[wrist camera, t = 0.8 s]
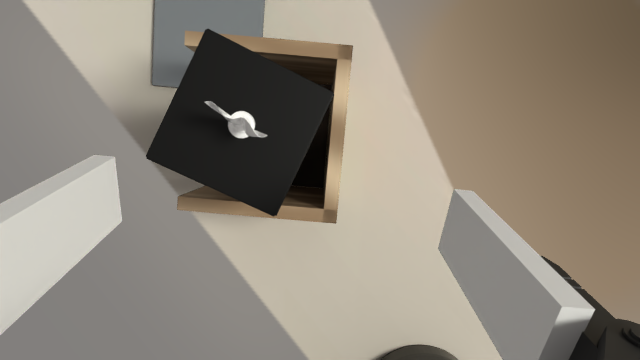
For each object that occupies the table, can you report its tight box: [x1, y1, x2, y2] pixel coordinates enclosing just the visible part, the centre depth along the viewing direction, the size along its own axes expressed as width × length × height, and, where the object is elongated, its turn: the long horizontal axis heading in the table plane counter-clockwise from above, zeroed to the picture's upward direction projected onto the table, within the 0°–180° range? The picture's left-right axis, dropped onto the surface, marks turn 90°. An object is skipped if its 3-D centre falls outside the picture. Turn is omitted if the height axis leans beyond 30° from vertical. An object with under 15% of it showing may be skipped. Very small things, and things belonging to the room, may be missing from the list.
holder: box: [177, 31, 353, 223], centre depth 38 cm, size 15×14×14 cm
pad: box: [152, 0, 265, 88], centre depth 43 cm, size 13×13×1 cm
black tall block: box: [146, 29, 334, 217], centre depth 30 cm, size 8×8×28 cm
